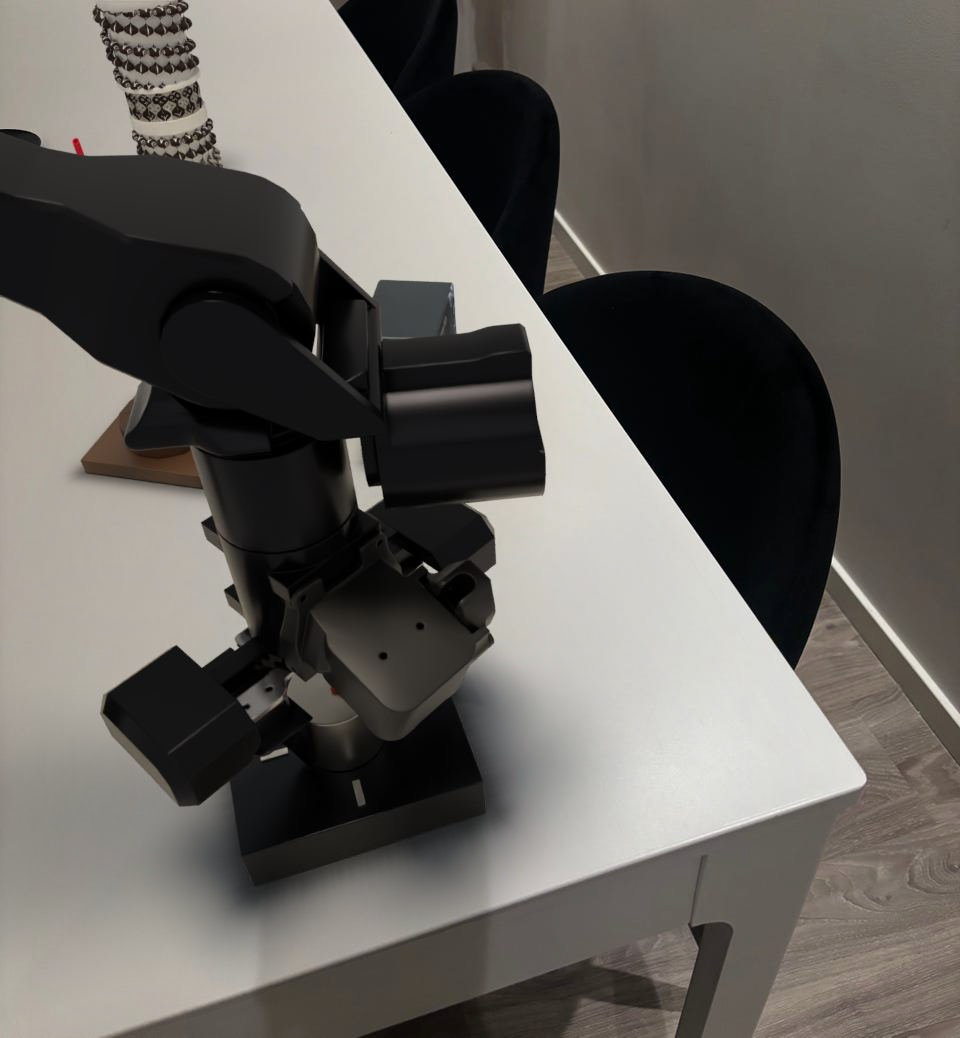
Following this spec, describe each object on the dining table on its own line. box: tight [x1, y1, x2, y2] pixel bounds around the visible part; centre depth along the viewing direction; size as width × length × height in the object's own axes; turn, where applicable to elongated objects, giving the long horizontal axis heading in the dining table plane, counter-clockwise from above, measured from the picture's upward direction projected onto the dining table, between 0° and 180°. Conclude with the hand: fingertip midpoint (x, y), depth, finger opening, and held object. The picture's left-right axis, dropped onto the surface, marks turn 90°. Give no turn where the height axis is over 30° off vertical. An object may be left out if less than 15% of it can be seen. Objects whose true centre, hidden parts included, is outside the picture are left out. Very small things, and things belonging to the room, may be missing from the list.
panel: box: [229, 678, 487, 887], centre depth 51 cm, size 12×10×3 cm
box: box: [371, 279, 458, 341], centre depth 70 cm, size 8×6×11 cm
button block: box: [80, 394, 203, 489], centre depth 72 cm, size 10×9×3 cm
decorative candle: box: [92, 0, 224, 168], centre depth 99 cm, size 9×9×25 cm
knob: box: [287, 673, 384, 771], centre depth 48 cm, size 4×4×4 cm
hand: (341, 729), depth 49 cm, fingers closed on knob, 4 cm apart
